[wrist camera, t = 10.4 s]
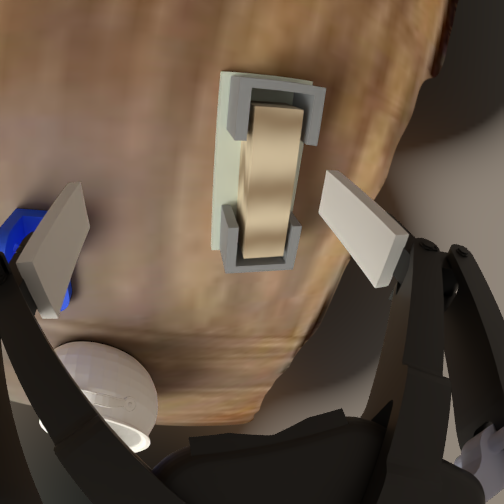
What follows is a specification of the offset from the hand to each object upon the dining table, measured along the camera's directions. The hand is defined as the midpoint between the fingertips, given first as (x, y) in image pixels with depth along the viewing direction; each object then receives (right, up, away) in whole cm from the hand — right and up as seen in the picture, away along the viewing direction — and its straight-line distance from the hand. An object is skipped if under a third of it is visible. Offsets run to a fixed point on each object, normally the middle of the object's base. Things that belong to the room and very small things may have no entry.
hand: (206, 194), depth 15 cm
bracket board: (+3, +8, +23) cm, 24 cm away
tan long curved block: (+3, +7, +22) cm, 23 cm away
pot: (-31, -28, +40) cm, 58 cm away
